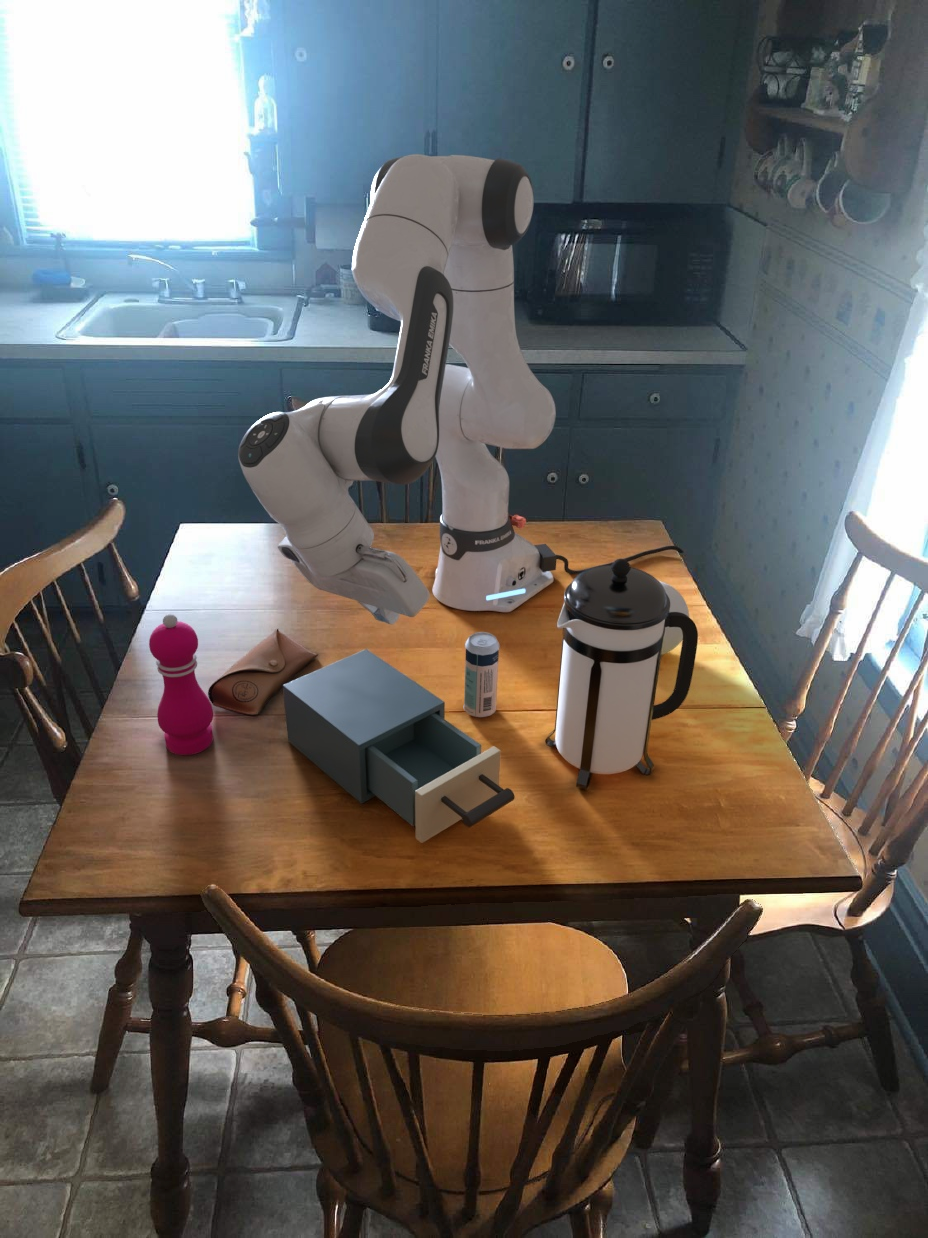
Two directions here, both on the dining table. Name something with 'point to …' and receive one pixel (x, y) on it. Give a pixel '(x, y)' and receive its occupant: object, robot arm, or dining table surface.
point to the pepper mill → (181, 689)
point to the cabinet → (352, 714)
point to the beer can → (481, 674)
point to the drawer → (435, 776)
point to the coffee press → (615, 668)
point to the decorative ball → (676, 605)
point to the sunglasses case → (260, 674)
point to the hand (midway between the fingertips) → (389, 619)
